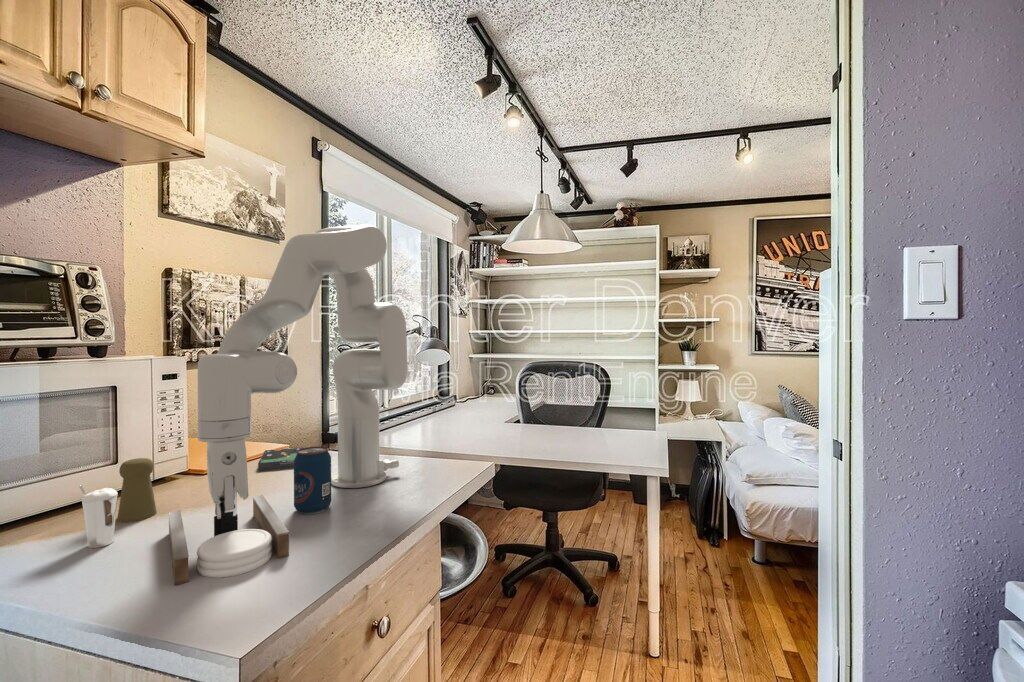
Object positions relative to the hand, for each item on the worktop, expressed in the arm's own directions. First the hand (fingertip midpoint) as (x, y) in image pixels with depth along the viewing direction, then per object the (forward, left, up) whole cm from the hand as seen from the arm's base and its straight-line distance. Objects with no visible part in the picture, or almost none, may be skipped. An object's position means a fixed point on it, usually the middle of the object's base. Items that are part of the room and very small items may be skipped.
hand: (225, 539), depth 79 cm
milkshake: (+17, -14, -2) cm, 22 cm away
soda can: (-16, -9, -2) cm, 19 cm away
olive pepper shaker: (+12, -26, -2) cm, 29 cm away
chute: (0, -1, -1) cm, 2 cm away
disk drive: (-19, -52, -2) cm, 55 cm away
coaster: (-1, +7, -2) cm, 7 cm away
